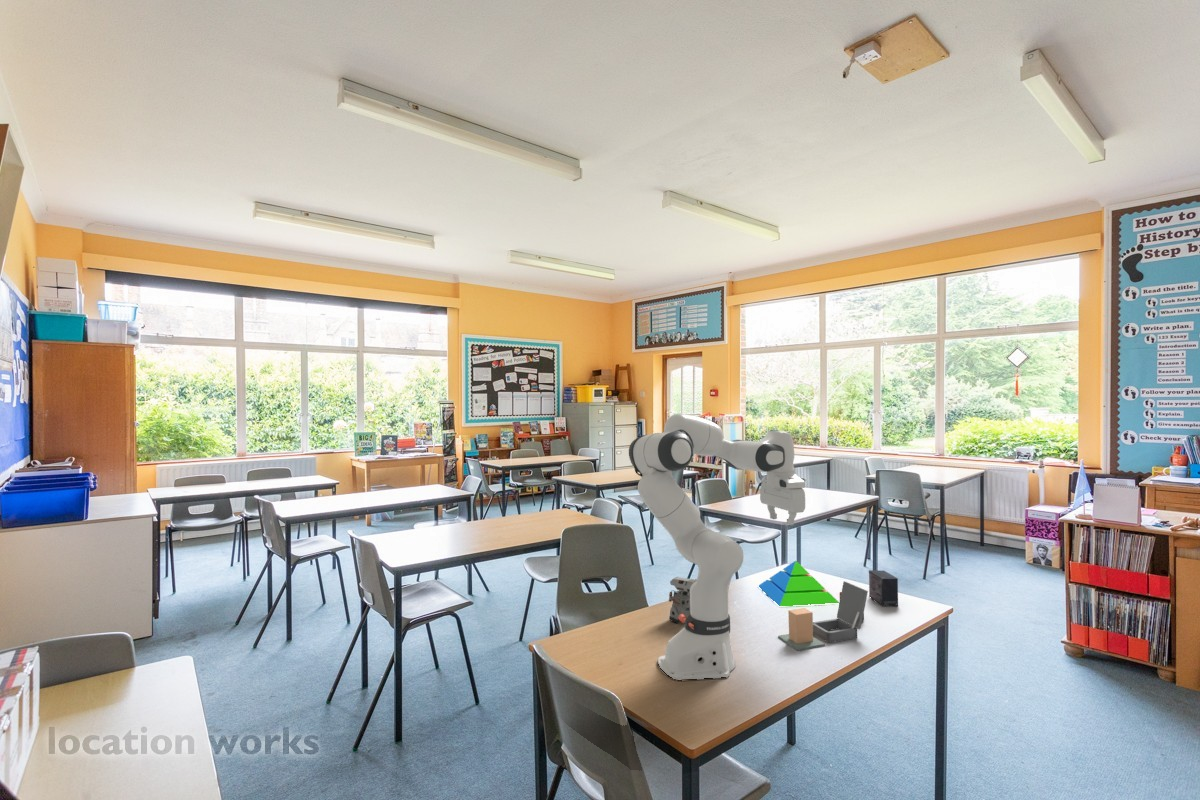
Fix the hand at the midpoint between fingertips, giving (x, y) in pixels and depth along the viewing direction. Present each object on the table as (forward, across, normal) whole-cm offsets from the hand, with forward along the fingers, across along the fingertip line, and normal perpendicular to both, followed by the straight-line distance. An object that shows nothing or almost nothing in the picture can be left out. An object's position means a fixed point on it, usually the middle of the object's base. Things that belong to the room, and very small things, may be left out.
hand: (781, 521), depth 181 cm
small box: (+37, -14, +53) cm, 66 cm away
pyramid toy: (+38, -31, +27) cm, 56 cm away
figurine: (+37, -21, -25) cm, 50 cm away
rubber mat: (+37, +6, +2) cm, 38 cm away
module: (+36, +6, +2) cm, 37 cm away
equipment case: (+37, +5, +17) cm, 41 cm away
